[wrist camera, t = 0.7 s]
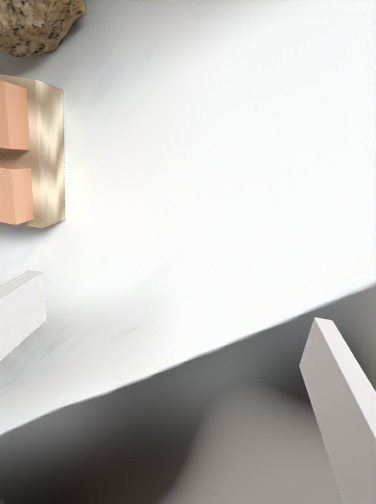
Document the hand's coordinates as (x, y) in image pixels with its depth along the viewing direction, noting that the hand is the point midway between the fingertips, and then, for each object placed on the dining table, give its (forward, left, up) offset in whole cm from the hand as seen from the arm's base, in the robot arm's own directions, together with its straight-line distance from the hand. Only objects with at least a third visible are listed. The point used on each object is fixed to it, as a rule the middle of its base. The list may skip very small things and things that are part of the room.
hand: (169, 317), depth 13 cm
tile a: (-8, -24, -18) cm, 31 cm away
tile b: (0, -24, -18) cm, 30 cm away
